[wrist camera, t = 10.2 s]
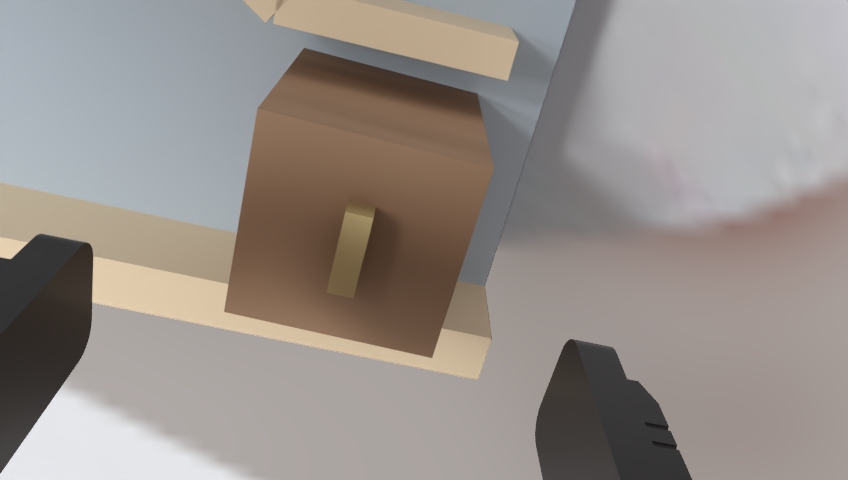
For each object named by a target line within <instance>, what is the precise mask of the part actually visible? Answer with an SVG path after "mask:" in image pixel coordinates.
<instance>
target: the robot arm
mask: <svg viewBox="0 0 848 480" xmlns="http://www.w3.org/2000/svg"><path fill="white" fill-rule="evenodd" d="M92 287H93V249H92V246H91V245H90V244H89V243H87V242H82V241H77V240H72V239H66V238H61V237H56V236H51V235H46V234H38V235H36V236H35V237H34V238H33V239H32V240H31V241H30V242H29V243H27V244H26V245H25V246H24V247H23V248H22V249H21V250H20V251H19V252H18V253H17V254H16V255H15V256H14V257H13V258H12V259H6V258H1V257H0V473H1V472H2V470H3V469H4V468H5V466H6V465H7V463H8V462H9V460H10V459H11V458H12V456H13V455H14V453H15V452H16V450H17V449H18V448H19V446H20V445H21V443H22V442H23V440H24V439H25V438H26V436H27V435H28V433H29V432H30V430H31V429H32V428H33V426H34V425H35V423H36V422H37V420H38V419H39V418H40V416H41V415H42V413H43V412H44V410H45V409H46V408H47V406H48V405H49V403H50V402H51V400H52V399H53V398H54V396H55V395H56V393H57V392H58V390H59V389H60V388H61V386H62V385H63V383H64V382H65V380H66V379H67V378H68V376H69V375H70V373H71V372H72V370H73V369H74V367H75V366H76V365H77V363H78V362H79V360H80V359H81V357H82V355H83V353H84V350H85V348H86V345H87V342H88V339H89V335H90V330H91V321H92ZM668 427H669V426H668V424H667V422H666V420H665V417H664V415H663V413H662V411H661V409H660V406H659V404H658V403H657V402H656V400H655V399H654V398H653V397H652V396H651V395H650V394H649V393H648V392H647V391H646V389H645V388H644V387H643V386H642V385H641V384H640V383H639V382H638V381H633V380H628V379H627V378H626V376H625V373H624V370H623V368H622V366H621V363H620V361H619V358H618V356H617V353H616V351H615V350H614V348H612V347H608V346H603V345H598V344H593V343H588V342H582V341H578V340H572V339H571V340H569V341H568V342H567V343H566V344H565V345H564V347H563V350H562V352H561V355H560V357H559V360H558V362H557V365H556V367H555V370H554V372H553V375H552V377H551V380H550V383H549V385H548V388H547V390H546V393H545V395H544V398H543V401H542V403H541V406H540V408H539V412H538V416H537V422H536V431H535V436H536V437H535V438H536V447H537V452H538V457H539V462H540V467H541V472H542V477H543V480H692V478H691V476H690V474H689V472H688V469H687V467H686V465H685V463H684V460H683V458H682V456H681V454H680V451H679V450H676V447H677V445H676V442H675V440H674V438H673V436H672V433H671V431H668Z"/></svg>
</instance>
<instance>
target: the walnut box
mask: <svg viewBox="0 0 848 480" xmlns="http://www.w3.org/2000/svg"><path fill="white" fill-rule="evenodd" d="M493 170H494V166H493V161H492V157H491V153H490V148H489V144H488V139H487V135H486V130H485V126H484V121H483V117H482V112H481V108H480V103H479V99H478V95H477V93H473V92H470V91H466V90H462V89H458V88H454V87H451V86H447V85H443V84H439V83H436V82H432V81H428V80H424V79H420V78H417V77H413V76H409V75H405V74H402V73H398V72H394V71H390V70H386V69H383V68H379V67H375V66H371V65H367V64H364V63H360V62H356V61H352V60H349V59H345V58H341V57H337V56H333V55H330V54H326V53H322V52H318V51H315V50H311V49H307V48H303V50H302V51H301V52H300V54H299V55H298V56H297V58H296V59H295V60H294V61H293V63H292V64H291V65H290V67H289V68H288V69H287V71H286V72H285V73H284V74H283V76H282V77H281V78H280V80H279V81H278V82H277V84H276V85H275V86H274V88H273V89H272V90H271V91H270V93H269V94H268V95H267V97H266V98H265V99H264V101H263V102H262V103H261V104H260V106H259V107H258V108H257V114H256V120H255V126H254V132H253V138H252V145H251V151H250V157H249V163H248V169H247V175H246V181H245V187H244V193H243V199H242V205H241V211H240V217H239V223H238V230H237V236H236V242H235V248H234V254H233V260H232V266H231V272H230V278H229V284H228V290H227V296H226V302H225V309H224V312H226V313H231V314H235V315H240V316H244V317H249V318H253V319H258V320H262V321H267V322H271V323H276V324H280V325H285V326H289V327H294V328H298V329H303V330H307V331H312V332H316V333H321V334H325V335H330V336H334V337H339V338H343V339H348V340H352V341H357V342H361V343H366V344H370V345H375V346H379V347H384V348H388V349H393V350H397V351H402V352H406V353H411V354H415V355H420V356H425V357H429V358H432V357H433V354H434V351H435V348H436V345H437V341H438V338H439V335H440V332H441V329H442V326H443V323H444V320H445V317H446V314H447V311H448V308H449V305H450V302H451V299H452V296H453V293H454V289H455V286H456V283H457V280H458V277H459V274H460V271H461V268H462V265H463V262H464V259H465V256H466V253H467V250H468V247H469V244H470V241H471V237H472V234H473V231H474V228H475V225H476V222H477V219H478V216H479V213H480V210H481V207H482V204H483V201H484V198H485V195H486V192H487V189H488V185H489V182H490V179H491V176H492V173H493Z"/></svg>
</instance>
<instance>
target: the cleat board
mask: <svg viewBox="0 0 848 480" xmlns="http://www.w3.org/2000/svg"><path fill="white" fill-rule="evenodd" d="M575 3H576V0H0V257H1V258H6V259H12V258H13V257H14V256H15V255H16V254H17V253H18V252H19V251H20V250H21V249H22V248H23V247H24V246H25V245H26V244H27V243H29V242H30V241H31V240H32V239H33V238H34V237H35V236H36V235H38V234H46V235H51V236H56V237H61V238H66V239H72V240H77V241H82V242H87V243H89V244H90V245H91V246H92V249H93V287H92V303H98V304H102V305H107V306H112V307H117V308H122V309H127V310H132V311H137V312H142V313H147V314H152V315H157V316H162V317H167V318H172V319H177V320H182V321H187V322H192V323H197V324H202V325H207V326H212V327H217V328H221V329H226V330H231V331H236V332H242V333H246V334H251V335H257V336H261V337H266V338H272V339H276V340H282V341H286V342H291V343H296V344H301V345H307V346H311V347H316V348H321V349H327V350H331V351H336V352H342V353H346V354H351V355H356V356H361V357H366V358H371V359H376V360H381V361H386V362H391V363H396V364H401V365H406V366H411V367H416V368H421V369H426V370H431V371H436V372H441V373H446V374H451V375H456V376H461V377H466V378H471V379H476V380H478V378H479V375H480V372H481V369H482V366H483V363H484V360H485V358H486V354H487V352H488V348H489V345H490V342H491V340H492V336H491V329H490V321H489V314H488V307H487V300H486V292H485V284H486V280H487V277H488V274H489V271H490V268H491V265H492V261H493V259H494V255H495V252H496V249H497V246H498V243H499V240H500V237H501V234H502V231H503V227H504V224H505V221H506V218H507V215H508V212H509V209H510V206H511V202H512V199H513V196H514V193H515V190H516V187H517V184H518V181H519V178H520V174H521V171H522V168H523V165H524V162H525V159H526V156H527V153H528V149H529V146H530V143H531V140H532V137H533V134H534V131H535V128H536V124H537V121H538V118H539V115H540V112H541V109H542V106H543V103H544V99H545V96H546V93H547V90H548V87H549V84H550V81H551V78H552V74H553V71H554V68H555V65H556V62H557V59H558V56H559V53H560V50H561V46H562V43H563V40H564V37H565V34H566V31H567V28H568V25H569V21H570V18H571V15H572V12H573V9H574V6H575ZM303 48H307V49H311V50H315V51H318V52H322V53H326V54H330V55H333V56H337V57H341V58H345V59H349V60H352V61H356V62H360V63H364V64H367V65H371V66H375V67H379V68H383V69H386V70H390V71H394V72H398V73H402V74H405V75H409V76H413V77H417V78H420V79H424V80H428V81H432V82H436V83H439V84H443V85H447V86H451V87H454V88H458V89H462V90H466V91H470V92H473V93H477V95H478V99H479V103H480V108H481V112H482V117H483V121H484V126H485V130H486V135H487V139H488V144H489V148H490V153H491V157H492V161H493V166H494V170H493V173H492V176H491V179H490V182H489V185H488V189H487V192H486V195H485V198H484V201H483V204H482V207H481V210H480V213H479V216H478V219H477V222H476V225H475V228H474V231H473V234H472V237H471V241H470V244H469V247H468V250H467V253H466V256H465V259H464V262H463V265H462V268H461V271H460V274H459V277H458V280H457V283H456V286H455V289H454V293H453V296H452V299H451V302H450V305H449V308H448V311H447V314H446V317H445V320H444V323H443V326H442V329H441V332H440V335H439V338H438V341H437V345H436V348H435V351H434V354H433V357H432V358H429V357H425V356H420V355H415V354H411V353H406V352H402V351H397V350H393V349H388V348H384V347H379V346H375V345H370V344H366V343H361V342H357V341H352V340H348V339H343V338H339V337H334V336H330V335H325V334H321V333H316V332H312V331H307V330H303V329H298V328H294V327H289V326H285V325H280V324H276V323H271V322H267V321H262V320H258V319H253V318H249V317H244V316H240V315H235V314H231V313H226V312H224V309H225V302H226V296H227V290H228V284H229V278H230V272H231V266H232V260H233V254H234V248H235V242H236V236H237V230H238V223H239V217H240V211H241V205H242V199H243V193H244V187H245V181H246V175H247V169H248V163H249V157H250V151H251V145H252V138H253V132H254V126H255V120H256V114H257V108H258V107H259V106H260V104H261V103H262V102H263V101H264V99H265V98H266V97H267V95H268V94H269V93H270V91H271V90H272V89H273V88H274V86H275V85H276V84H277V82H278V81H279V80H280V78H281V77H282V76H283V74H284V73H285V72H286V71H287V69H288V68H289V67H290V65H291V64H292V63H293V61H294V60H295V59H296V58H297V56H298V55H299V54H300V52H301V51H302V50H303Z"/></svg>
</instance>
